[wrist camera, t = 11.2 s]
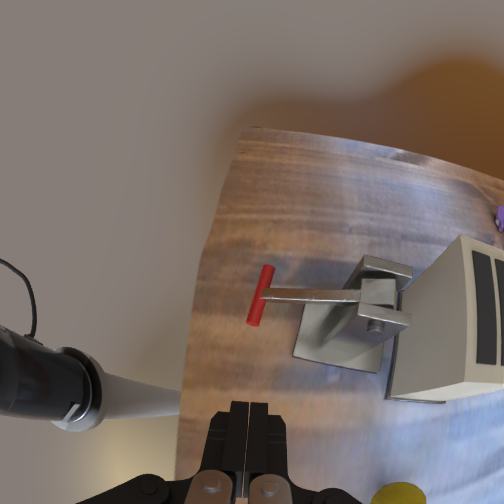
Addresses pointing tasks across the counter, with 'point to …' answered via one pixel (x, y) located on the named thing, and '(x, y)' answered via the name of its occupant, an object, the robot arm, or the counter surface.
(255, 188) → the counter surface
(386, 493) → the lemon
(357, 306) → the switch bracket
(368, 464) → the counter surface
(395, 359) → the toaster
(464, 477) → the counter surface
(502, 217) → the figurine
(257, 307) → the switch lever
